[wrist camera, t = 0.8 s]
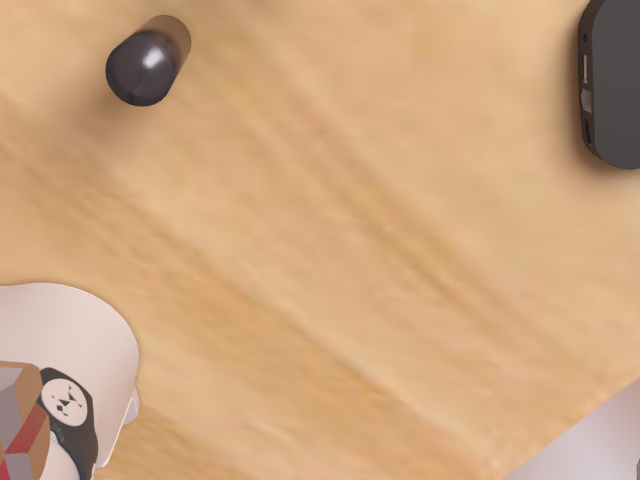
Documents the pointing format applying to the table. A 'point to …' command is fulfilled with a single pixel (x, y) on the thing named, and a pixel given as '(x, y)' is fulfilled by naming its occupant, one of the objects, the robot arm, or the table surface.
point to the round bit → (148, 61)
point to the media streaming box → (611, 80)
